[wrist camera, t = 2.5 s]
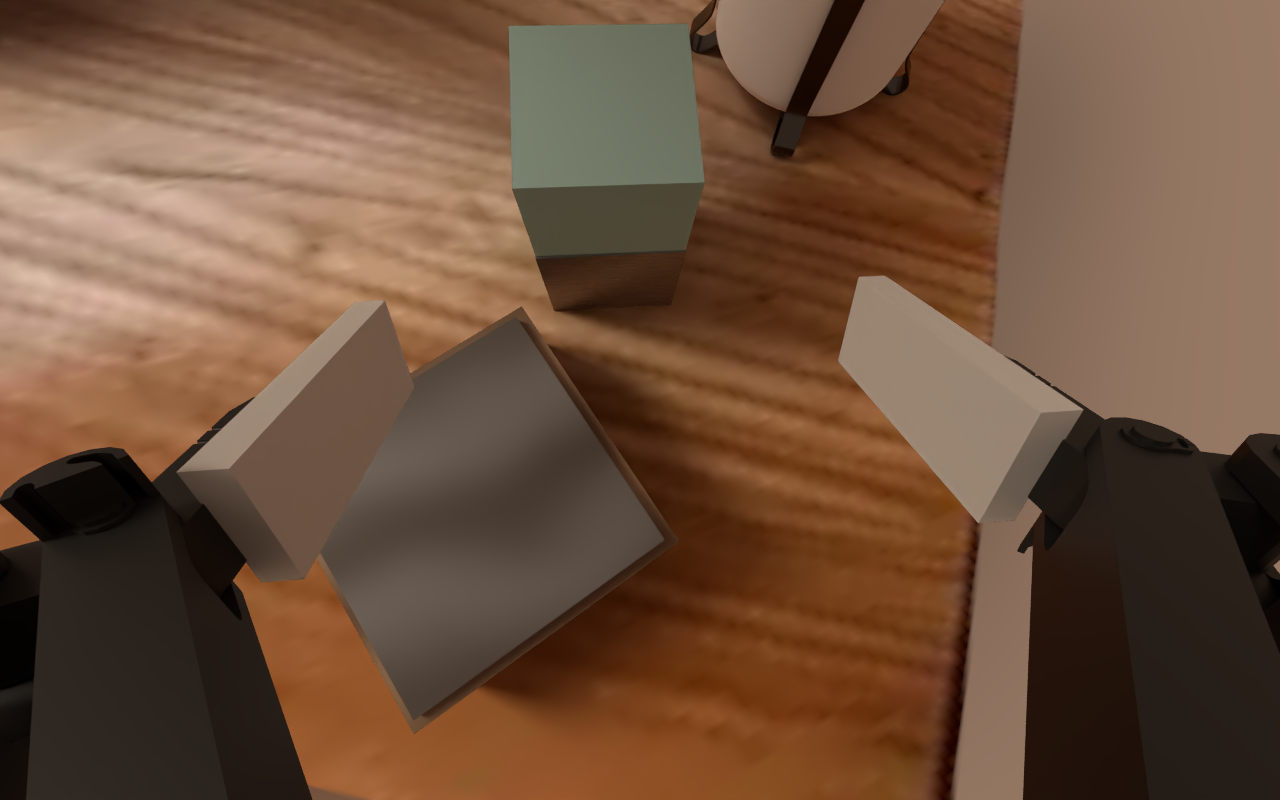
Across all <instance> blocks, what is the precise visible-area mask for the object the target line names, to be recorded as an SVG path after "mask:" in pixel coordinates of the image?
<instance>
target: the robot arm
mask: <svg viewBox="0 0 1280 800" xmlns="http://www.w3.org/2000/svg"><path fill="white" fill-rule="evenodd" d="M838 362H839V363H840V364H841V365H842V367H843V368H844V369H845V370H846V371H847V372H848V374H849V375H850V376H851V377H852V378H853V379H854V380H855V382H856V383H857V384H858V385H859V386H860V387H861V388H862V390H863V391H864V392H865V393H866V394H867V395H868V397H869V398H870V399H871V400H872V401H873V402H874V403H875V405H876V406H877V407H878V408H879V409H880V410H881V412H882V413H883V414H884V415H885V416H886V417H887V418H888V420H889V421H890V422H891V423H892V424H893V425H894V426H895V428H896V429H897V430H898V431H899V432H900V433H901V435H902V436H903V437H904V438H905V439H906V440H907V441H908V443H909V444H910V445H911V446H912V447H913V448H914V450H915V451H916V452H917V453H918V454H919V455H920V456H921V458H922V459H923V460H924V461H925V462H926V463H927V465H928V466H929V467H930V468H931V469H932V470H933V471H934V473H935V474H936V475H937V476H938V477H939V478H940V479H941V481H942V482H943V483H944V484H945V485H946V486H947V488H948V489H949V490H950V491H951V492H952V493H953V494H954V496H955V497H956V498H957V499H958V500H959V501H960V503H961V504H962V505H963V506H964V507H965V508H966V509H967V511H968V512H969V513H970V514H971V515H972V516H973V517H974V519H975V520H976V521H977V522H978V523H988V522H999V521H1012V520H1015V519H1016V517H1017V516H1018V514H1019V512H1020V511H1021V509H1022V508H1023V506H1024V504H1025V503H1026V501H1027V500H1028V498H1029V499H1030V500H1031V501H1033V502H1034V503H1035V504H1036V505H1037V506H1038V507H1039V508H1040V509H1041V510H1042V513H1041V514H1040V516H1039V517H1038V519H1037V520H1036V522H1035V523H1034V525H1033V526H1032V528H1031V529H1030V531H1029V532H1028V534H1027V535H1026V537H1025V538H1024V540H1023V541H1022V543H1021V544H1020V546H1019V548H1018V550H1017V551H1018V552H1021V553H1025V551H1026V550H1027V548H1028V547H1031V546H1033V562H1032V586H1031V612H1030V638H1029V662H1028V687H1027V689H1028V690H1027V712H1026V713H1027V714H1026V739H1025V763H1024V788H1023V800H1280V574H1279V572H1278V571H1277V570H1276V569H1275V567H1274V566H1273V565H1274V564H1275V563H1277V562H1278V561H1279V560H1280V435H1276V434H1264V433H1260V434H1254V435H1250V436H1248V437H1247V438H1246V440H1245V441H1244V442H1243V443H1242V444H1241V445H1240V446H1239V447H1238V448H1237V450H1236V451H1235V452H1234V453H1233V454H1232V455H1224V454H1216V453H1208V452H1201V451H1199V449H1198V448H1197V447H1196V446H1195V444H1193V443H1192V442H1190V441H1189V440H1188V439H1186V438H1184V437H1183V436H1181V435H1180V434H1177V433H1175V432H1173V431H1171V430H1169V429H1167V428H1164V427H1162V426H1159V425H1155V424H1152V423H1149V422H1146V421H1142V420H1137V419H1131V418H1109V419H1106V420H1104V419H1103V418H1102V417H1100V416H1099V415H1097V414H1096V413H1094V412H1093V411H1091V410H1089V409H1088V408H1087V407H1085V406H1084V405H1082V404H1081V403H1079V402H1077V401H1076V400H1075V399H1073V398H1072V397H1070V396H1069V395H1067V394H1066V393H1064V392H1063V391H1061V390H1059V389H1058V388H1057V387H1055V386H1050V383H1049V382H1047V381H1046V380H1045V379H1043V378H1041V377H1040V376H1035V373H1034V372H1032V371H1031V370H1030V369H1028V368H1027V367H1025V366H1024V365H1022V364H1020V363H1019V362H1017V361H1016V360H1013V359H1011V358H1008V357H1006V356H1004V355H1001V354H1000V353H999V352H997V351H996V350H994V349H993V348H991V347H990V346H988V345H987V344H985V343H984V342H982V341H981V340H980V339H978V338H977V337H975V336H974V335H972V334H971V333H969V332H968V331H966V330H965V329H963V328H962V327H960V326H959V325H957V324H956V323H954V322H953V321H951V320H950V319H948V318H947V317H945V316H944V315H942V314H941V313H940V312H938V311H937V310H935V309H934V308H932V307H931V306H929V305H928V304H926V303H925V302H923V301H922V300H920V299H919V298H917V297H916V296H914V295H913V294H911V293H910V292H908V291H907V290H905V289H904V288H902V287H901V286H900V285H898V284H897V283H895V282H894V281H892V280H891V279H889V278H888V277H886V276H866V277H859V278H858V282H857V286H856V290H855V294H854V298H853V302H852V306H851V310H850V314H849V318H848V322H847V326H846V330H845V334H844V338H843V343H842V347H841V351H840V355H839V359H838ZM413 389H414V384H413V381H412V378H411V375H410V372H409V369H408V366H407V363H406V360H405V358H404V355H403V352H402V349H401V346H400V343H399V340H398V337H397V334H396V331H395V328H394V325H393V322H392V320H391V317H390V314H389V311H388V308H387V305H386V302H385V301H365V302H355V303H354V304H353V305H352V306H351V307H350V308H349V309H348V310H347V311H346V312H344V313H343V314H342V315H341V316H340V317H339V318H338V319H337V320H336V321H335V322H334V323H333V324H332V325H331V326H330V327H329V328H328V329H327V330H326V331H324V332H323V333H322V334H321V335H320V336H319V337H318V338H317V339H316V340H315V341H314V342H313V343H312V344H311V345H310V346H309V347H308V348H307V349H306V350H304V351H303V352H302V353H301V354H300V355H299V356H298V357H297V358H296V359H295V360H294V361H293V362H292V363H291V364H290V365H289V366H288V367H287V368H285V369H284V370H283V371H282V372H281V373H280V374H279V375H278V376H277V377H276V378H275V379H274V380H273V381H272V382H271V383H270V384H269V385H268V386H267V387H265V388H264V389H263V390H262V391H261V392H260V393H259V394H258V395H257V396H256V397H253V398H251V399H250V400H248V401H246V402H245V403H243V404H241V405H239V406H238V407H236V408H234V409H232V410H231V411H229V412H228V413H227V414H226V415H225V416H224V417H222V418H221V419H220V420H219V421H218V422H217V423H216V424H215V425H214V426H213V427H212V431H207V432H206V433H205V434H204V435H203V436H202V437H201V438H200V439H199V440H198V441H197V442H198V443H197V444H193V445H192V446H191V447H190V448H189V449H188V450H187V451H186V452H184V453H183V454H182V455H181V456H180V457H179V458H178V459H177V460H176V461H175V462H174V463H173V464H171V465H170V466H169V467H168V468H167V469H166V470H165V471H164V472H163V473H162V474H161V475H159V476H158V477H157V478H156V479H155V480H154V481H153V482H152V483H151V481H150V480H149V479H148V478H147V477H146V475H145V474H144V473H143V472H142V470H141V469H140V468H139V467H138V466H137V464H136V463H135V462H134V461H133V460H132V458H131V457H130V456H129V455H128V454H127V453H126V452H125V450H124V449H120V448H112V447H107V448H99V449H91V450H87V451H83V452H80V453H76V454H73V455H69V456H66V457H63V458H61V459H59V460H56V461H54V462H51V463H49V464H46V465H44V466H42V467H40V468H38V469H36V470H35V471H33V472H31V473H29V474H27V475H25V476H24V477H22V478H20V479H19V480H18V481H17V482H15V483H14V484H13V485H12V486H10V487H9V488H8V489H7V490H5V492H4V493H3V495H2V496H1V498H0V504H1V505H2V506H3V507H4V508H5V509H7V510H8V511H9V512H10V513H11V514H12V515H13V516H14V517H15V518H17V519H18V520H19V521H20V522H21V523H22V524H23V525H24V526H25V527H27V528H28V529H29V530H30V531H31V532H32V533H33V534H34V535H35V536H37V537H38V538H39V539H40V540H39V541H35V542H31V543H28V544H24V545H20V546H16V547H12V548H9V549H5V550H1V551H0V800H312V797H311V794H310V791H309V788H308V785H307V782H306V779H305V776H304V773H303V770H302V767H301V765H300V762H299V759H298V756H297V753H296V750H295V747H294V744H293V741H292V738H291V735H290V732H289V729H288V726H287V723H286V720H285V717H284V714H283V711H282V708H281V705H280V702H279V699H278V696H277V694H276V691H275V688H274V685H273V682H272V679H271V676H270V673H269V670H268V667H267V664H266V661H265V658H264V655H263V652H262V649H261V646H260V643H259V640H258V637H257V634H256V631H255V628H254V626H253V623H252V620H251V617H250V614H249V611H248V608H247V605H246V602H245V599H244V596H243V593H242V591H241V590H240V589H239V588H238V587H237V585H236V584H235V583H234V582H233V579H234V578H235V576H236V575H237V574H238V572H239V571H240V569H241V568H242V567H243V565H244V564H245V562H246V563H247V564H248V566H249V567H250V568H251V569H252V571H253V572H254V573H255V575H256V576H257V577H258V579H259V580H260V581H261V582H274V581H286V580H298V579H305V577H306V576H307V574H308V572H309V570H310V569H311V567H312V565H313V563H314V562H315V560H316V558H317V556H318V555H319V553H320V551H321V549H322V548H323V546H324V544H325V542H326V541H327V539H328V537H329V535H330V534H331V532H332V530H333V528H334V527H335V525H336V523H337V521H338V520H339V518H340V516H341V514H342V513H343V511H344V509H345V507H346V506H347V504H348V502H349V500H350V499H351V497H352V495H353V493H354V492H355V490H356V488H357V486H358V485H359V483H360V481H361V479H362V478H363V476H364V474H365V473H366V471H367V469H368V467H369V466H370V464H371V462H372V460H373V459H374V457H375V455H376V453H377V452H378V450H379V448H380V446H381V445H382V443H383V441H384V439H385V438H386V436H387V434H388V432H389V431H390V429H391V427H392V425H393V424H394V422H395V420H396V418H397V417H398V415H399V413H400V411H401V410H402V408H403V406H404V404H405V403H406V401H407V399H408V397H409V396H410V394H411V392H412V390H413Z"/></svg>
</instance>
